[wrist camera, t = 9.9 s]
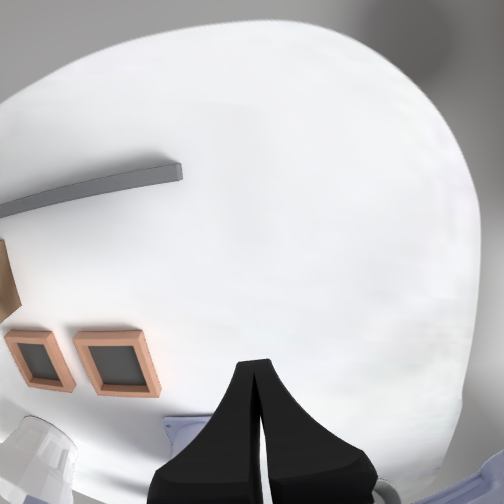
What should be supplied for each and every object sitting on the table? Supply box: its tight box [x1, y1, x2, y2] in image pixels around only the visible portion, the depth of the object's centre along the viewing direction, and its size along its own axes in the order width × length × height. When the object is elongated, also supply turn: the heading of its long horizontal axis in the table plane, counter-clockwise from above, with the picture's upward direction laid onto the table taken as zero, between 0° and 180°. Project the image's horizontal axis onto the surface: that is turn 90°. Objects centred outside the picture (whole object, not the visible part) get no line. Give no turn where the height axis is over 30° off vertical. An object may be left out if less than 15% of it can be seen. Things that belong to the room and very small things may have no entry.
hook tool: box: [0, 164, 183, 218], centre depth 19 cm, size 11×27×2 cm, turn 96°
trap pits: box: [4, 330, 162, 398], centre depth 22 cm, size 6×15×1 cm, turn 96°
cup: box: [0, 416, 78, 504], centre depth 21 cm, size 12×12×11 cm
